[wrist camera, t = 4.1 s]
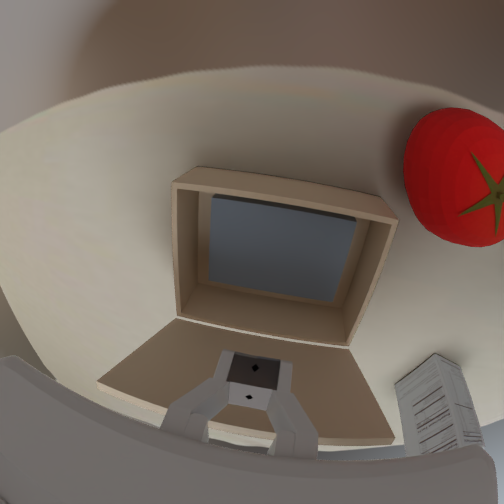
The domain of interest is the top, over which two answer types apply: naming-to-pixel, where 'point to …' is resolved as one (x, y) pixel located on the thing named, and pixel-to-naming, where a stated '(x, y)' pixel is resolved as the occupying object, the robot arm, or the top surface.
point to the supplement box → (437, 409)
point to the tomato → (457, 176)
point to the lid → (245, 418)
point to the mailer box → (276, 253)
